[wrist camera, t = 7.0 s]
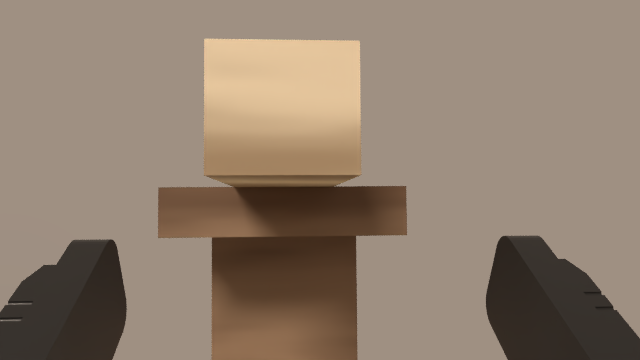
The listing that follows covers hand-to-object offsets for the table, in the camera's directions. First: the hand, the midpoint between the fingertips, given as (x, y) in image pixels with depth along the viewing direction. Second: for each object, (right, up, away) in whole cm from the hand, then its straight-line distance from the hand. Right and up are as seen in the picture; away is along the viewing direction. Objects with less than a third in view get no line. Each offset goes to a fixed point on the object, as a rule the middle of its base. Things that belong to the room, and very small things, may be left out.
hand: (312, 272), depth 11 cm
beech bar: (-1, +2, +12) cm, 12 cm away
